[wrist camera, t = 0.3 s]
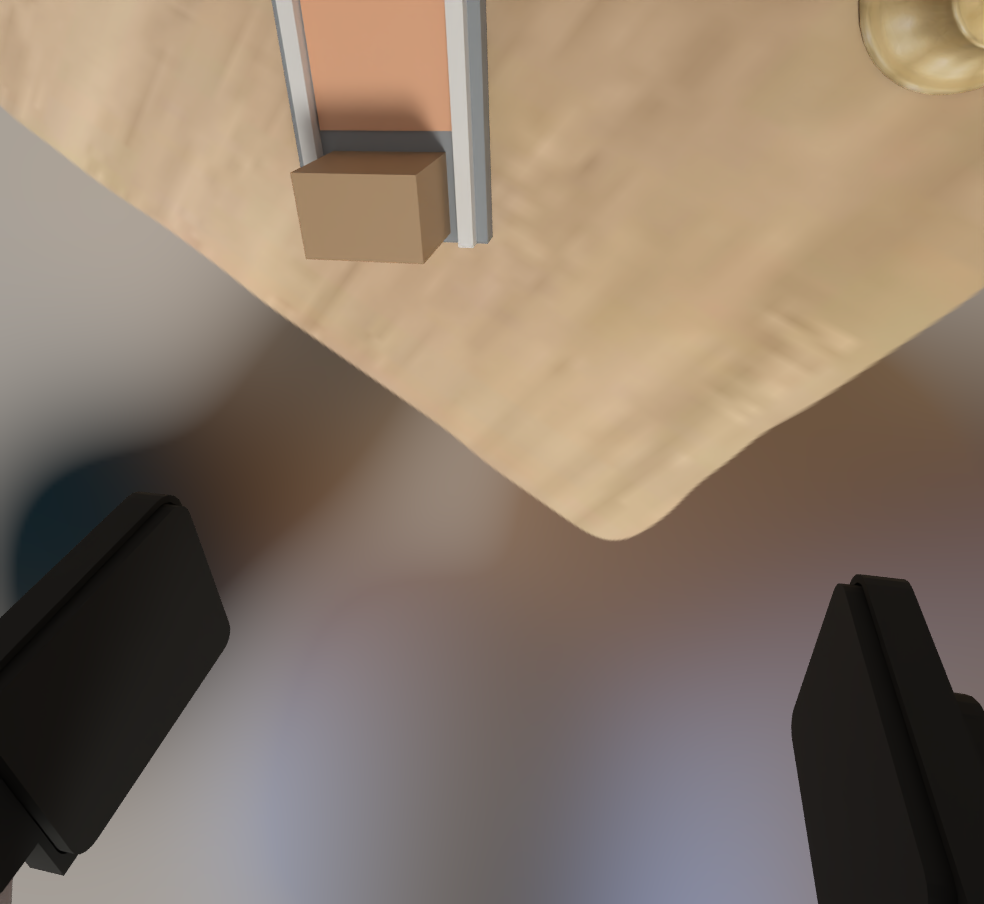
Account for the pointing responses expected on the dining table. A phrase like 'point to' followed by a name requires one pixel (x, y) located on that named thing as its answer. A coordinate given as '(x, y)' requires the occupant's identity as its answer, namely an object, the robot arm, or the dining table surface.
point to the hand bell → (926, 43)
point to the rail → (388, 125)
